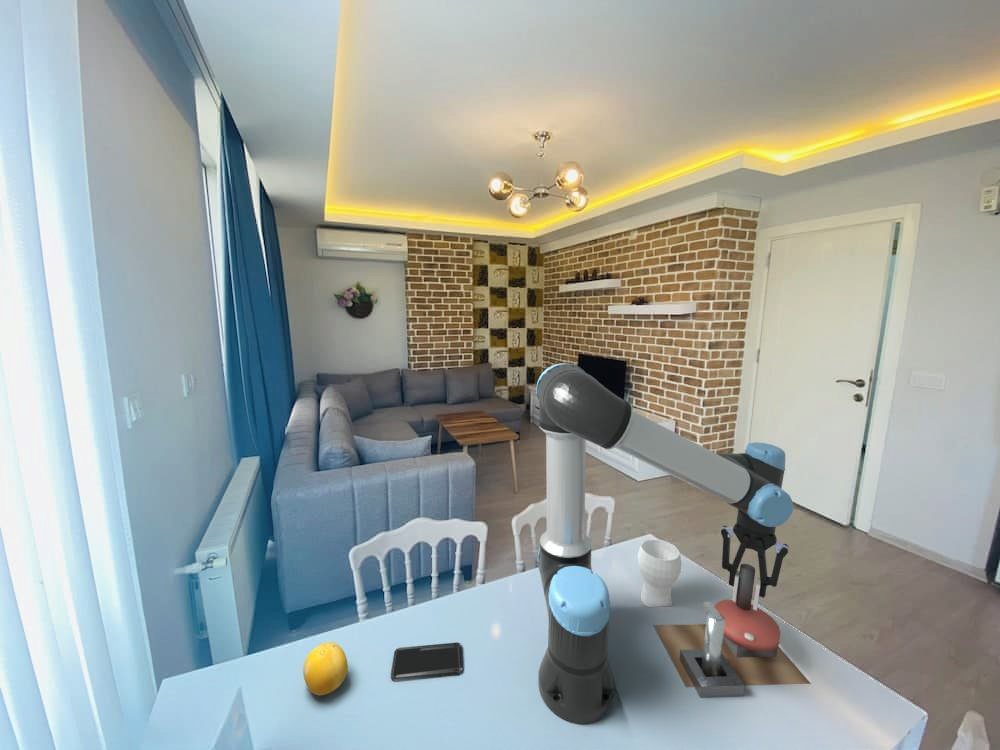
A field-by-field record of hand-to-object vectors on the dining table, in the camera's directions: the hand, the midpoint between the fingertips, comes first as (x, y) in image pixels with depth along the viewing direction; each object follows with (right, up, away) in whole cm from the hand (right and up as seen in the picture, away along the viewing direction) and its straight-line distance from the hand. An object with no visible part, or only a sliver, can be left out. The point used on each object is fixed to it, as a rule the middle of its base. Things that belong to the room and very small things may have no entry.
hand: (744, 602), depth 96 cm
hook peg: (-15, -9, -12) cm, 21 cm away
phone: (-74, -9, -8) cm, 75 cm away
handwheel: (-2, -4, -4) cm, 6 cm away
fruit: (-94, -10, -13) cm, 95 cm away
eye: (-15, -9, -12) cm, 21 cm away
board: (-8, -9, -6) cm, 14 cm away
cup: (-17, -6, +11) cm, 21 cm away
